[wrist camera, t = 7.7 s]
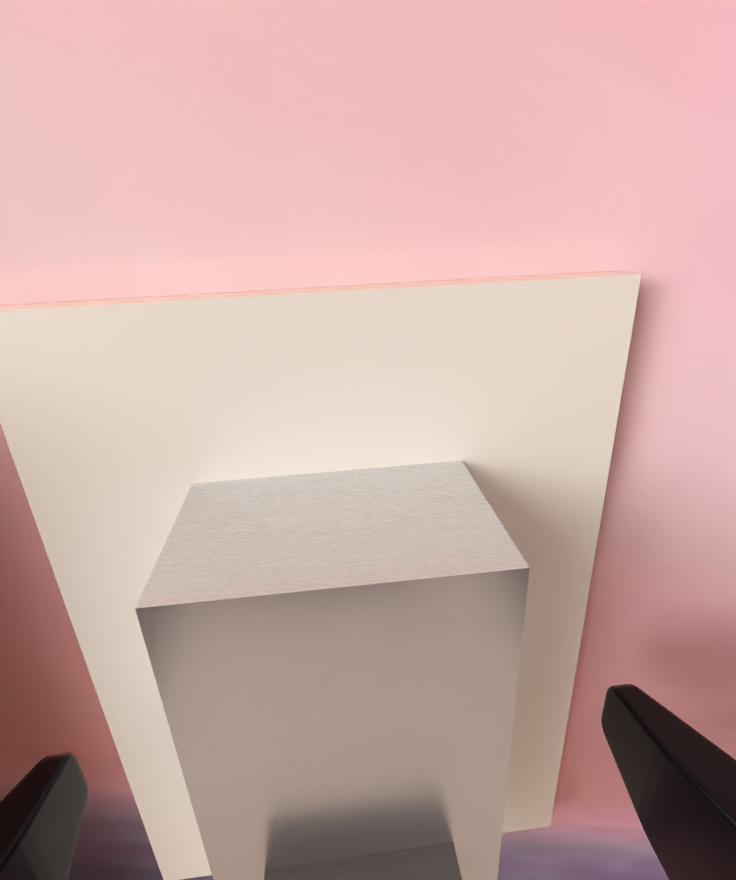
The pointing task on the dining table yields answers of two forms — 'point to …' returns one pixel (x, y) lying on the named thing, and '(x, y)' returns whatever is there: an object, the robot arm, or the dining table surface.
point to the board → (315, 461)
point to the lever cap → (341, 671)
